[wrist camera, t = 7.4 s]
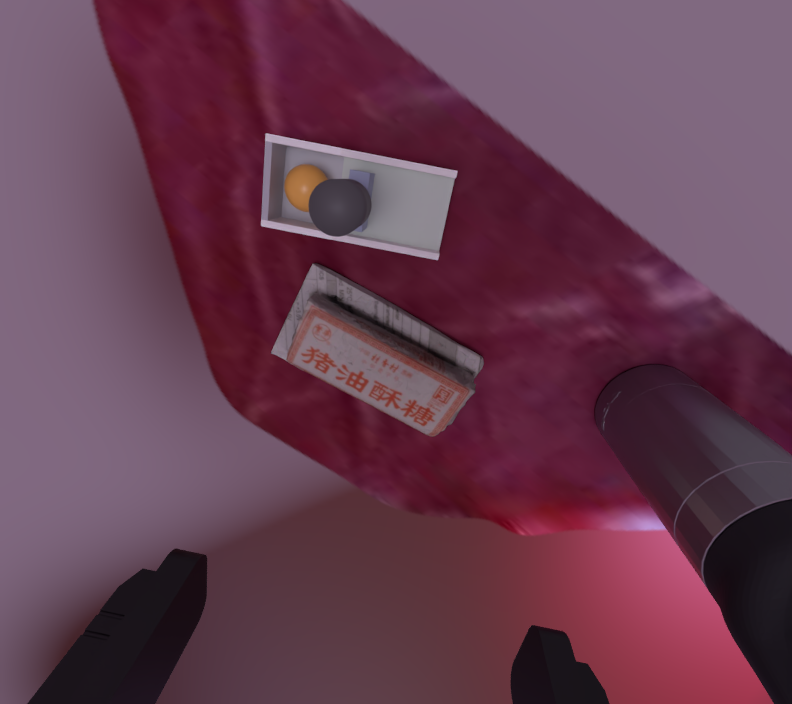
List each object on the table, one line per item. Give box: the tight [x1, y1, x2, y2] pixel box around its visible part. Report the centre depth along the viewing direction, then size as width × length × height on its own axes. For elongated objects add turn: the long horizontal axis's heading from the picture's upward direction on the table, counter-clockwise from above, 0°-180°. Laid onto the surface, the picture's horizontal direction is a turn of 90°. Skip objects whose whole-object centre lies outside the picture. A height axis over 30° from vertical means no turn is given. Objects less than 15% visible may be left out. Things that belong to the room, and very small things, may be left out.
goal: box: [261, 133, 344, 240], centre depth 33 cm, size 6×6×4 cm
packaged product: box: [271, 263, 484, 437], centre depth 38 cm, size 18×5×10 cm
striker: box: [308, 169, 375, 237], centre depth 28 cm, size 3×4×10 cm
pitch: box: [331, 148, 458, 260], centre depth 33 cm, size 8×6×3 cm
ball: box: [284, 164, 328, 212], centre depth 33 cm, size 4×4×4 cm
